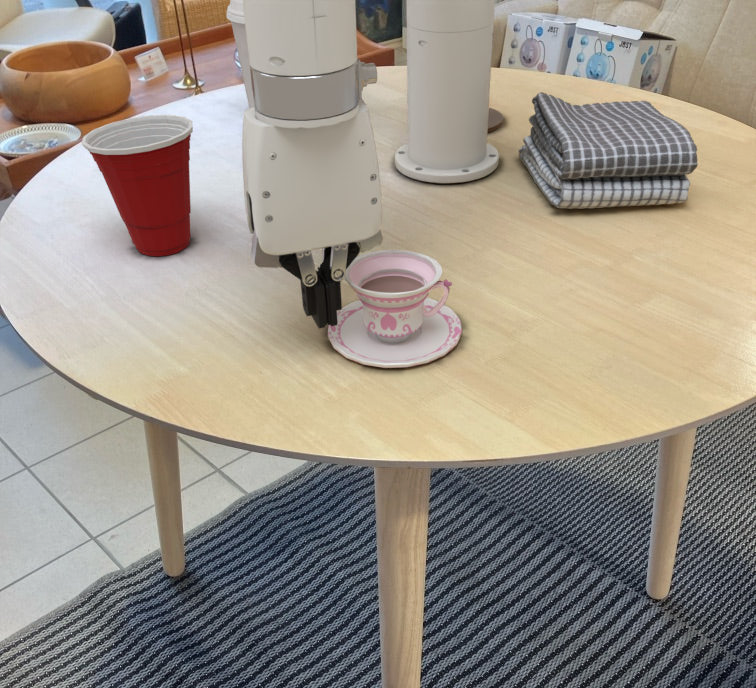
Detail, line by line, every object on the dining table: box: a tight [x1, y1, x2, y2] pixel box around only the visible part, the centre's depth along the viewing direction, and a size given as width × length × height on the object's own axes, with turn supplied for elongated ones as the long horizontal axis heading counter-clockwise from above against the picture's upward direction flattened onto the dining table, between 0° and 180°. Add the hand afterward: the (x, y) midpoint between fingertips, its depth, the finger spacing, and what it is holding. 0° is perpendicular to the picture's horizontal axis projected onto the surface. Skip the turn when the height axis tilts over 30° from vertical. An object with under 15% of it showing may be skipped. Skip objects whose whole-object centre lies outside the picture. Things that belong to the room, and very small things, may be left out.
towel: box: [518, 91, 699, 209], centre depth 96 cm, size 15×18×8 cm
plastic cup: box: [81, 114, 194, 257], centre depth 87 cm, size 11×11×12 cm
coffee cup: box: [225, 0, 254, 109], centre depth 112 cm, size 10×10×15 cm
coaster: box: [487, 107, 504, 134], centre depth 114 cm, size 10×10×1 cm
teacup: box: [327, 249, 463, 369], centre depth 74 cm, size 12×12×6 cm
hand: (323, 319), depth 73 cm, fingers closed
